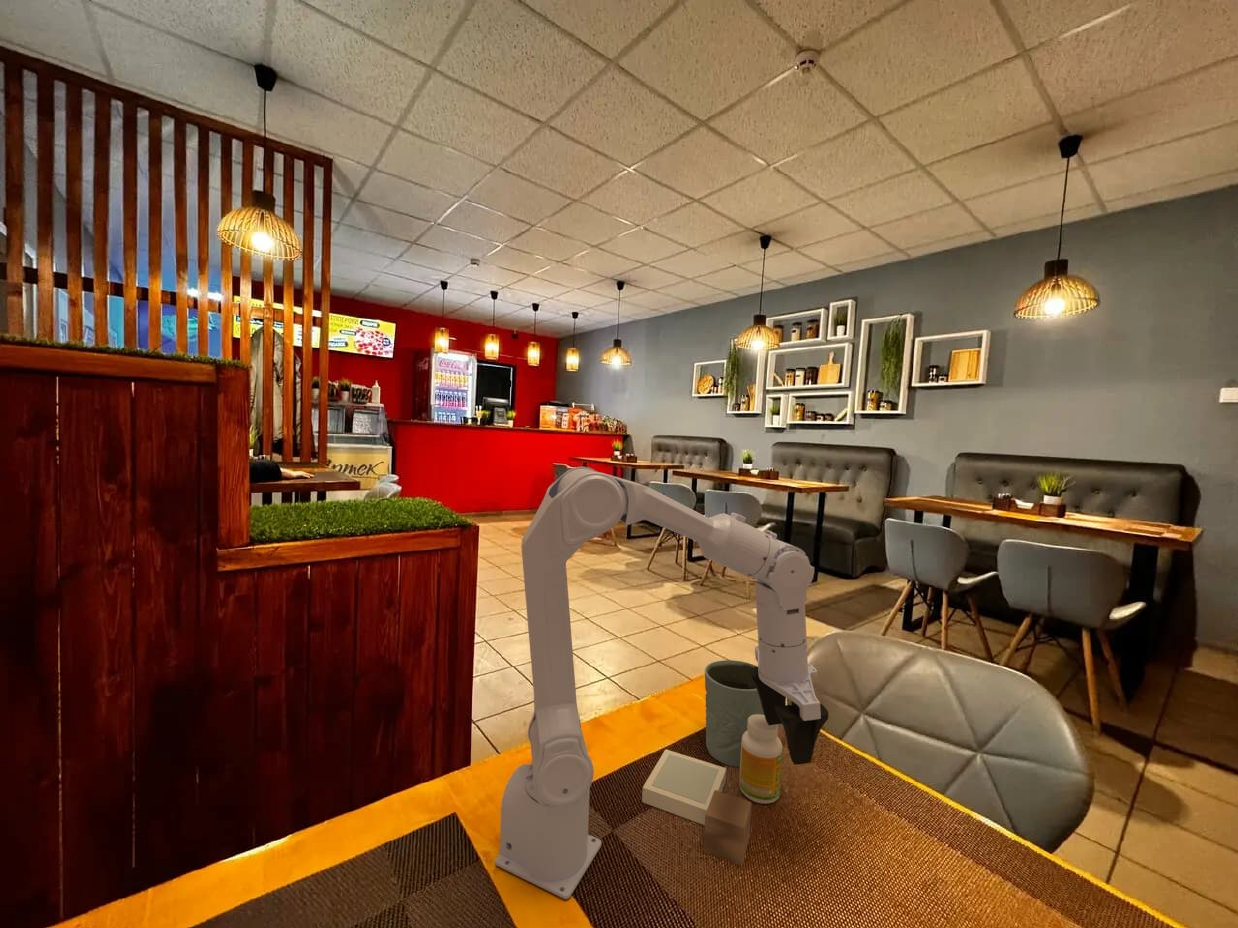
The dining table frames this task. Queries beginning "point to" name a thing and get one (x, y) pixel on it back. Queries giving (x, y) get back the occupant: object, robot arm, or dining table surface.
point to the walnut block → (727, 827)
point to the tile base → (683, 785)
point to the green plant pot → (729, 708)
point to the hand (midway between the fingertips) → (787, 741)
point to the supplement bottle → (760, 761)
